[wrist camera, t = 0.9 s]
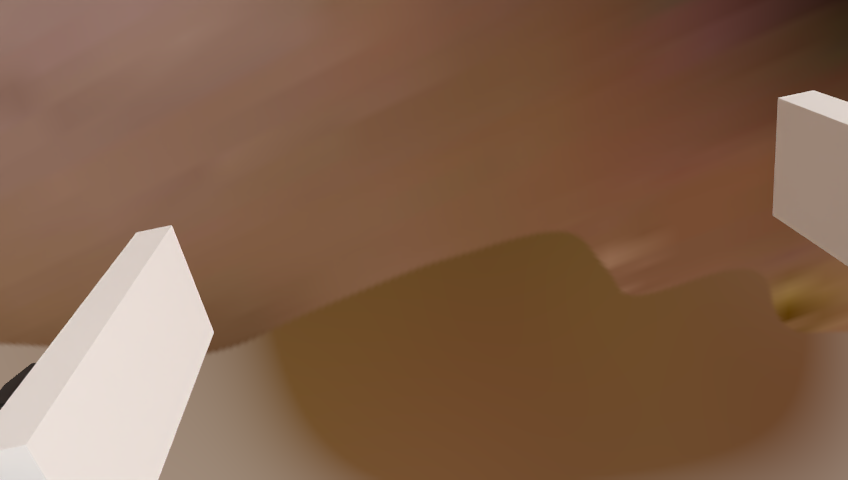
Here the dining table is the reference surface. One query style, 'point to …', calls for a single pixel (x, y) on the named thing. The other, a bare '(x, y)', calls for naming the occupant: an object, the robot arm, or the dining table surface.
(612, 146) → the dining table surface
